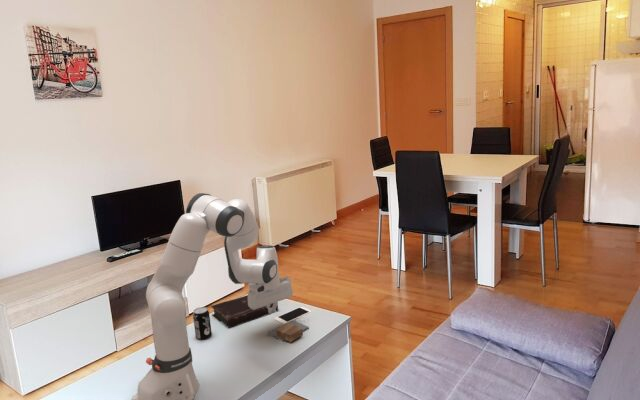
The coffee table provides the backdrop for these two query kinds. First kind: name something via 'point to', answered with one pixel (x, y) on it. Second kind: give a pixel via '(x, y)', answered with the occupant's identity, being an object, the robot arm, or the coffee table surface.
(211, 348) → the coffee table surface
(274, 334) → the mat
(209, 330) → the beverage can
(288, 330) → the wooden block
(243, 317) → the diary
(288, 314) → the cell phone
